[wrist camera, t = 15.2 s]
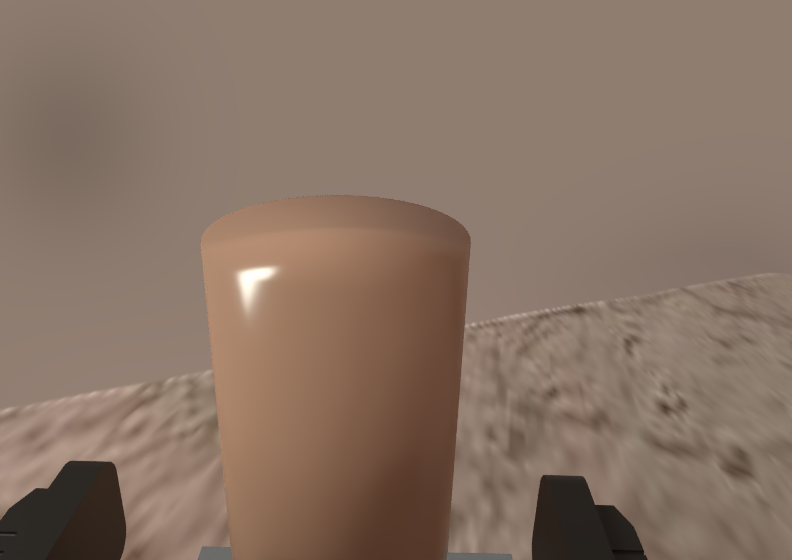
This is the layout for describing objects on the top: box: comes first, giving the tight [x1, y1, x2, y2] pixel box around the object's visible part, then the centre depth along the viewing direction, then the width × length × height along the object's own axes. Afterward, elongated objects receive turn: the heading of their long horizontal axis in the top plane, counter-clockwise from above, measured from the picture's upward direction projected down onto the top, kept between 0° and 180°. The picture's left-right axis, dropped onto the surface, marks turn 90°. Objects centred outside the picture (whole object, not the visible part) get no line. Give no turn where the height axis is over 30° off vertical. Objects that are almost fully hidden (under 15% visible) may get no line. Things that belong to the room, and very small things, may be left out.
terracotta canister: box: [201, 195, 471, 560], centre depth 16 cm, size 5×5×14 cm
